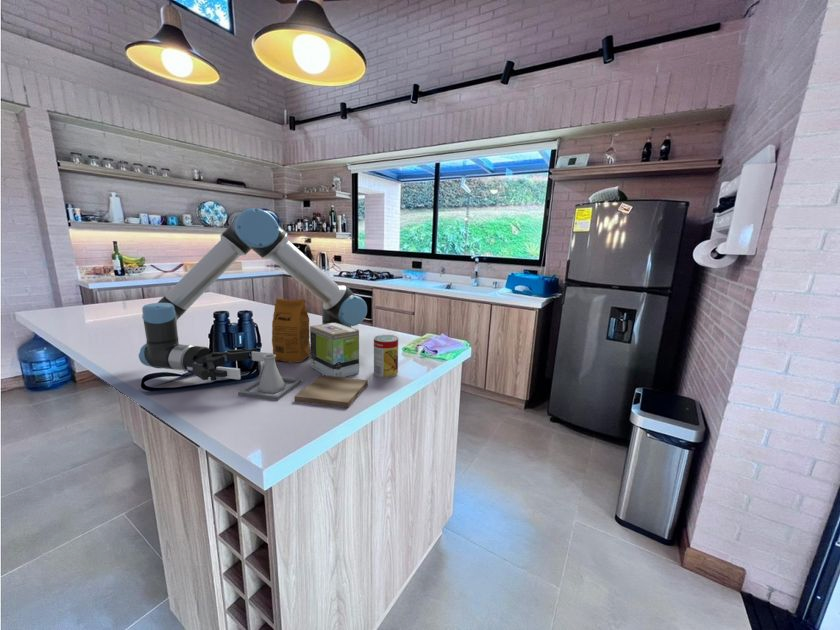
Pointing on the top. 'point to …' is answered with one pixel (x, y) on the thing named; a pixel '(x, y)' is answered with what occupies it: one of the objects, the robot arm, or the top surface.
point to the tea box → (334, 349)
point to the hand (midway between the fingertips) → (256, 365)
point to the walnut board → (332, 391)
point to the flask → (270, 376)
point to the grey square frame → (269, 396)
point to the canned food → (385, 355)
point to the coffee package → (290, 330)
